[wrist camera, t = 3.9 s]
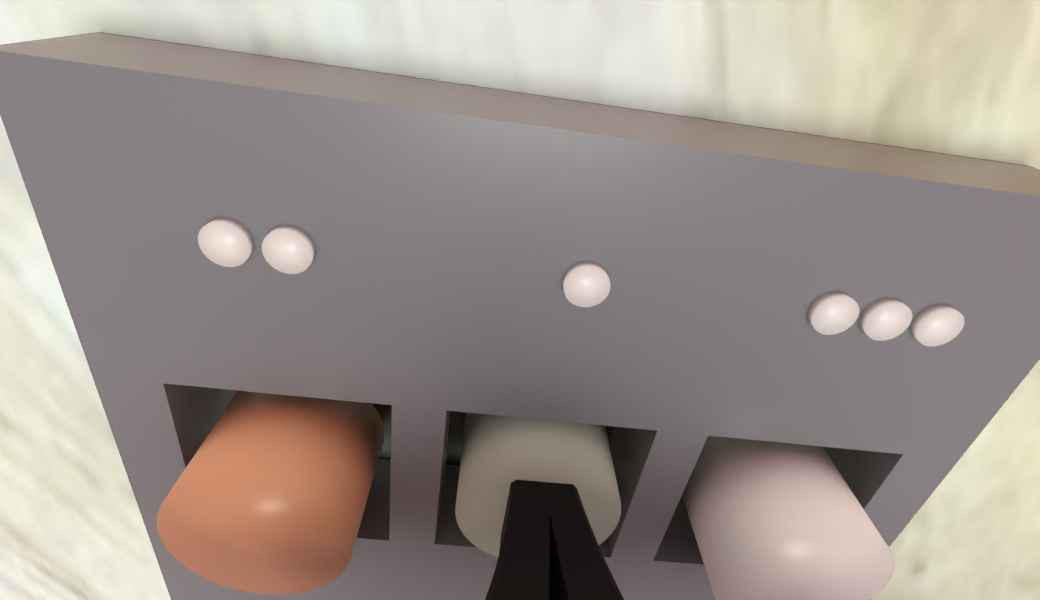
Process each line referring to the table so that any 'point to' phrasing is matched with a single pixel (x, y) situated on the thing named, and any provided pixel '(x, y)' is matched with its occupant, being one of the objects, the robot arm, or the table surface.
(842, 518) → the button white
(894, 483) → the button panel
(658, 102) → the table surface
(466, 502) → the button green
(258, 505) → the button terracotta
